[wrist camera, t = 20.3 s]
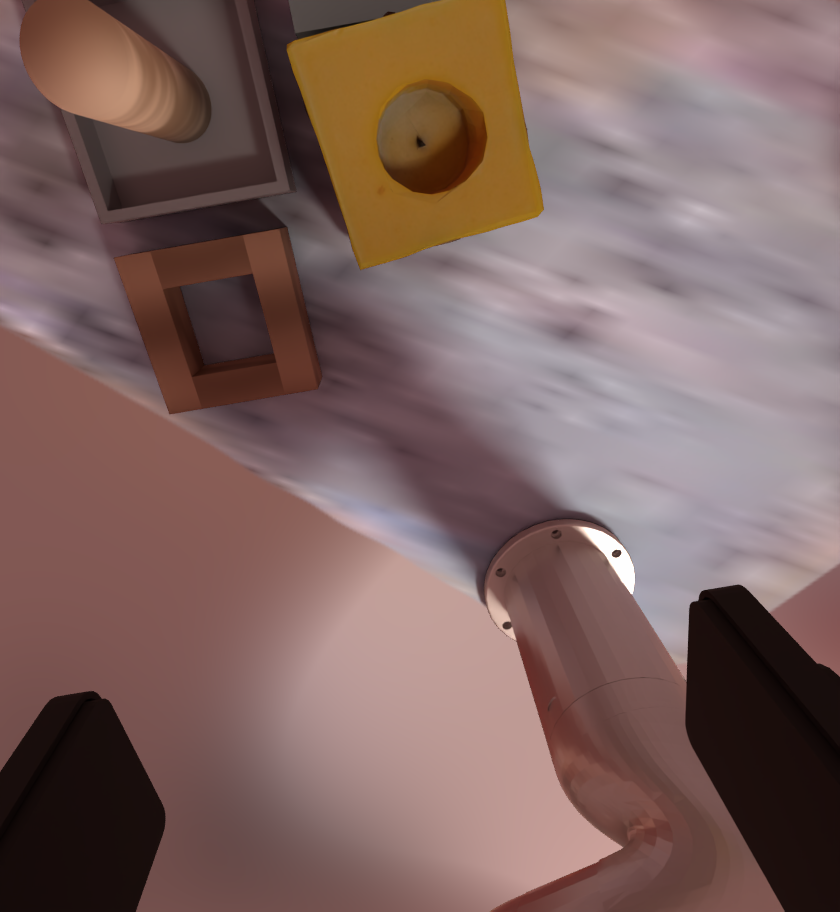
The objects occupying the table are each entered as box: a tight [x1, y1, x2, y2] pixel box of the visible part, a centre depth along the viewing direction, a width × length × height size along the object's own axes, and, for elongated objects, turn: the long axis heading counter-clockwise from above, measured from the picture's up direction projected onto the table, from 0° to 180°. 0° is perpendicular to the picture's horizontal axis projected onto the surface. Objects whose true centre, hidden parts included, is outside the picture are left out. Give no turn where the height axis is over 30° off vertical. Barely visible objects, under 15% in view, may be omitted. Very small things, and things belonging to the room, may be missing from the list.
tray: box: [22, 0, 297, 224], centre depth 33 cm, size 11×11×3 cm
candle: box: [287, 0, 544, 270], centre depth 31 cm, size 10×10×10 cm
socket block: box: [114, 227, 322, 414], centre depth 38 cm, size 10×10×3 cm
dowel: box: [20, 0, 212, 143], centre depth 28 cm, size 4×4×12 cm
